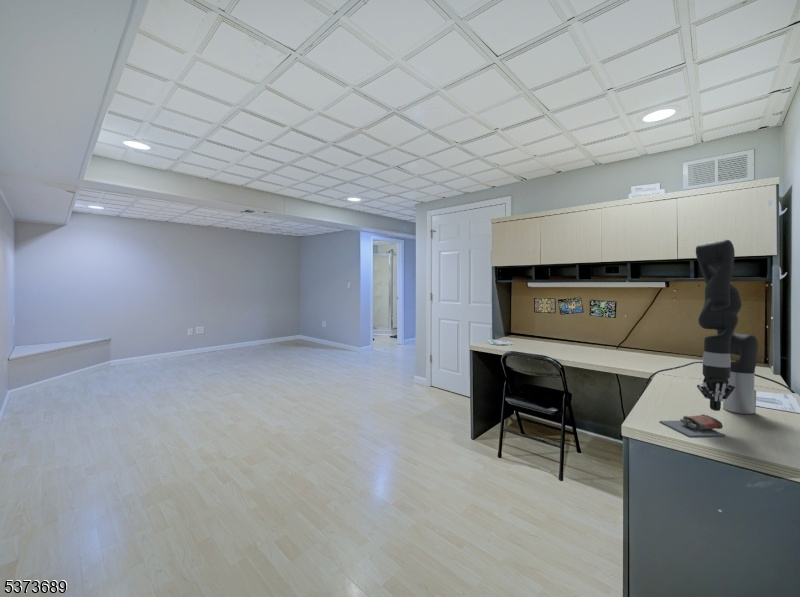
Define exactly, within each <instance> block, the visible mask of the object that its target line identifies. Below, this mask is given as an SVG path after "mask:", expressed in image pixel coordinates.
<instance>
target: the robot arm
mask: <svg viewBox="0 0 800 597" xmlns="http://www.w3.org/2000/svg"><path fill="white" fill-rule="evenodd" d="M695 256H696V259H697V262H698V266H699V268H700V271H701V273H702V277H703V279H704V282H705V287H704V302H703V303H704V304H703V308H702V309H701V312H700V314H699V315H698V325H699V326H700V327H701V328H703V329H705V330H714V331H715V330H716V333H717V334H716V335H715V334H714V335H707V336H705V337H704V339H703V340H704V344H703V355H702V375H703V380H702V383H701V384H697V385H696V387H697V389H698V390H699V392H700V393H701V394H702V396H703V397H704V398H706V399H709V408H710V410H712V411H714V412H717V411H718V412H719V411H720V410H721V408H722V409H724V410H726V411H728V412H732V413H735V414H741V415H753V414H756V412H757V390H756V389H755V377H756V376H755V374H756V373H755V372H756V371H755V370H756V367H757V359H758V358H757V357H758V351H759V350H758V348H759V343H758V339H757V337H756V336H754V335H753V334H748V333H747V334H746V333H739V332H738V333H737V332H734V331H735V330H736V328H737V325H738V322H739V317H738V314H739V312H740V311H741V308H742V300H741V297H740V293H739V290H738V289H737V288H736V287H735V286H734V285H733V284H732V283H731V279H732V274H733V269H734V264H735V258H736V257H735V247H734V244H733V243H732V240H729V239H721V240H716V241H715V240H714V241H710V242H705V243H700V244H698V245H697V246H696V247H695ZM719 264H720V267H719V268H718V270H717V271H715V269H714V268H713V266H714V265H719ZM712 265H713V266H712ZM731 355H736V356H740V357H739V359H738V360H735V361H731V360H732V358H731ZM721 406H722V407H721Z"/></svg>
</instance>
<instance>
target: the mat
mask: <svg viewBox="0 0 800 597" xmlns="http://www.w3.org/2000/svg"><path fill="white" fill-rule="evenodd" d="M659 424H662V425H664V426H666V427H668V428H669V429H672V430H674V431H676V432H678V433H680V434H682V435H684V436H686V437H689V438H717V437H718V438H719V437H722V438H724V437H726V435H725V434H724V433H722V432H720V431H717V430H716V429H705V430H697V429H693V428H691V427H690V426H686V425H684V423H682V422H681V421H680V420H659Z"/></svg>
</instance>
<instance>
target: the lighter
mask: <svg viewBox="0 0 800 597" xmlns="http://www.w3.org/2000/svg"><path fill="white" fill-rule="evenodd" d="M679 421H681V422H682V423H684V425H686V426H690V427H691V428H693V429H697V430H705V429H713V430H716V429H717V430H721V429H723V427H724V426H723V423H722V422H721V421H719V420H718V419H717V418H715V417H714V416H710V415H707V414H700V415H691V416H688V415H683V417H682V418H681V419H679Z"/></svg>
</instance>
